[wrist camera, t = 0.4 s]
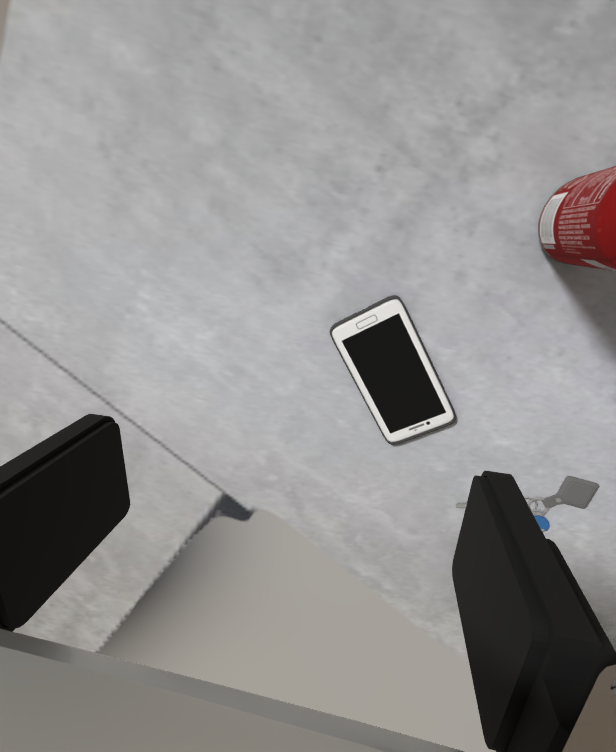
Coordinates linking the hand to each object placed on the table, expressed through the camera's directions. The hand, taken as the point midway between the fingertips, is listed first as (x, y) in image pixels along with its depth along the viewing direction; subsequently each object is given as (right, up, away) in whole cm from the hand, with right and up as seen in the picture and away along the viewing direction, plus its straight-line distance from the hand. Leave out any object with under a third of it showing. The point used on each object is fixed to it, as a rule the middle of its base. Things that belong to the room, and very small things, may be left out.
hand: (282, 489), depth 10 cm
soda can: (+23, +16, +22) cm, 36 cm away
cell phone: (+9, +3, +30) cm, 31 cm away
